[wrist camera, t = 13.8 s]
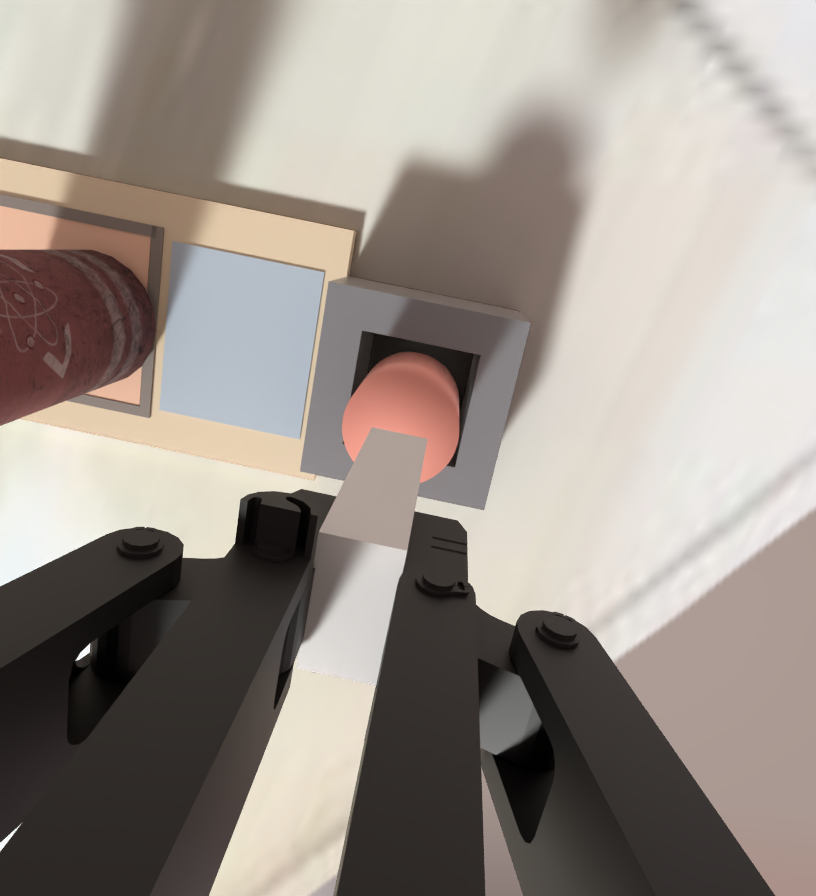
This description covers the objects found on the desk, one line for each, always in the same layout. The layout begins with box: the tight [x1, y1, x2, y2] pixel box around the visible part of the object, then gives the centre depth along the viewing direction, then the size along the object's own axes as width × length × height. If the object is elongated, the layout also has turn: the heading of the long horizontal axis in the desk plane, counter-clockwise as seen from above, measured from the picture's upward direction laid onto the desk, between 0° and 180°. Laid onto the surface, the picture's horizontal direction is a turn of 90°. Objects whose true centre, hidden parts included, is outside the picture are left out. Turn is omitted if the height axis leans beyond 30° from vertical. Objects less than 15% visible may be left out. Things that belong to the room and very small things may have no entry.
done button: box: [342, 352, 459, 483], centre depth 24 cm, size 4×4×4 cm
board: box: [0, 158, 357, 481], centre depth 31 cm, size 22×12×1 cm, turn 79°
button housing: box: [300, 276, 531, 510], centre depth 29 cm, size 8×8×5 cm
